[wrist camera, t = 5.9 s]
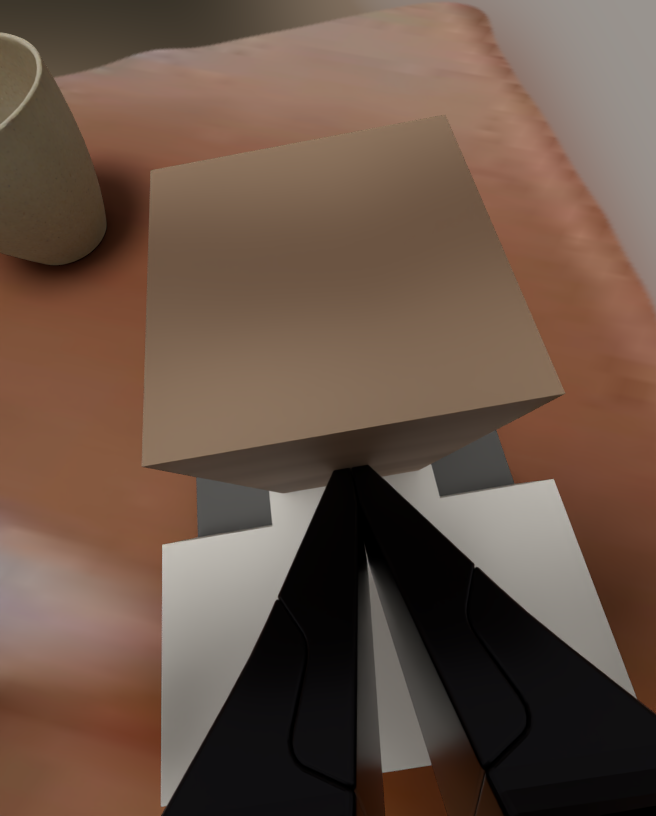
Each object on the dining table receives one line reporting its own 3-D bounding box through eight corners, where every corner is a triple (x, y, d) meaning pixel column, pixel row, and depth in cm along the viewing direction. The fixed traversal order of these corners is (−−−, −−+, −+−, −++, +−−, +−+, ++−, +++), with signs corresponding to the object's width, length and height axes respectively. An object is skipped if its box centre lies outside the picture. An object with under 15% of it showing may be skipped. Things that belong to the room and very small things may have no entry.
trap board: (575, 675, 11) (649, 731, 9) (206, 733, 12) (160, 806, 9) (428, 240, 18) (443, 190, 15) (193, 283, 18) (164, 241, 15)
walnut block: (418, 470, 11) (565, 393, 4) (282, 493, 11) (142, 466, 4) (388, 349, 13) (445, 114, 5) (269, 370, 13) (150, 170, 5)
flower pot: (175, 217, 20) (84, 67, 13) (52, 327, 18) (-129, 219, 11) (83, 158, 22) (-35, 5, 15) (-34, 250, 20) (-229, 121, 13)
